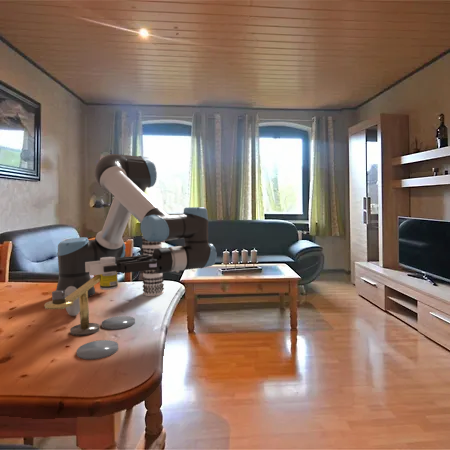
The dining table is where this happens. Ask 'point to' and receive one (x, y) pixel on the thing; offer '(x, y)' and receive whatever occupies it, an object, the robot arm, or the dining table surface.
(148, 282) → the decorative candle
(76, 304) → the donut
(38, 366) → the dining table surface
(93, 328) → the balance
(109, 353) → the dish low
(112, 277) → the supplement bottle
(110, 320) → the glossy grey puck
